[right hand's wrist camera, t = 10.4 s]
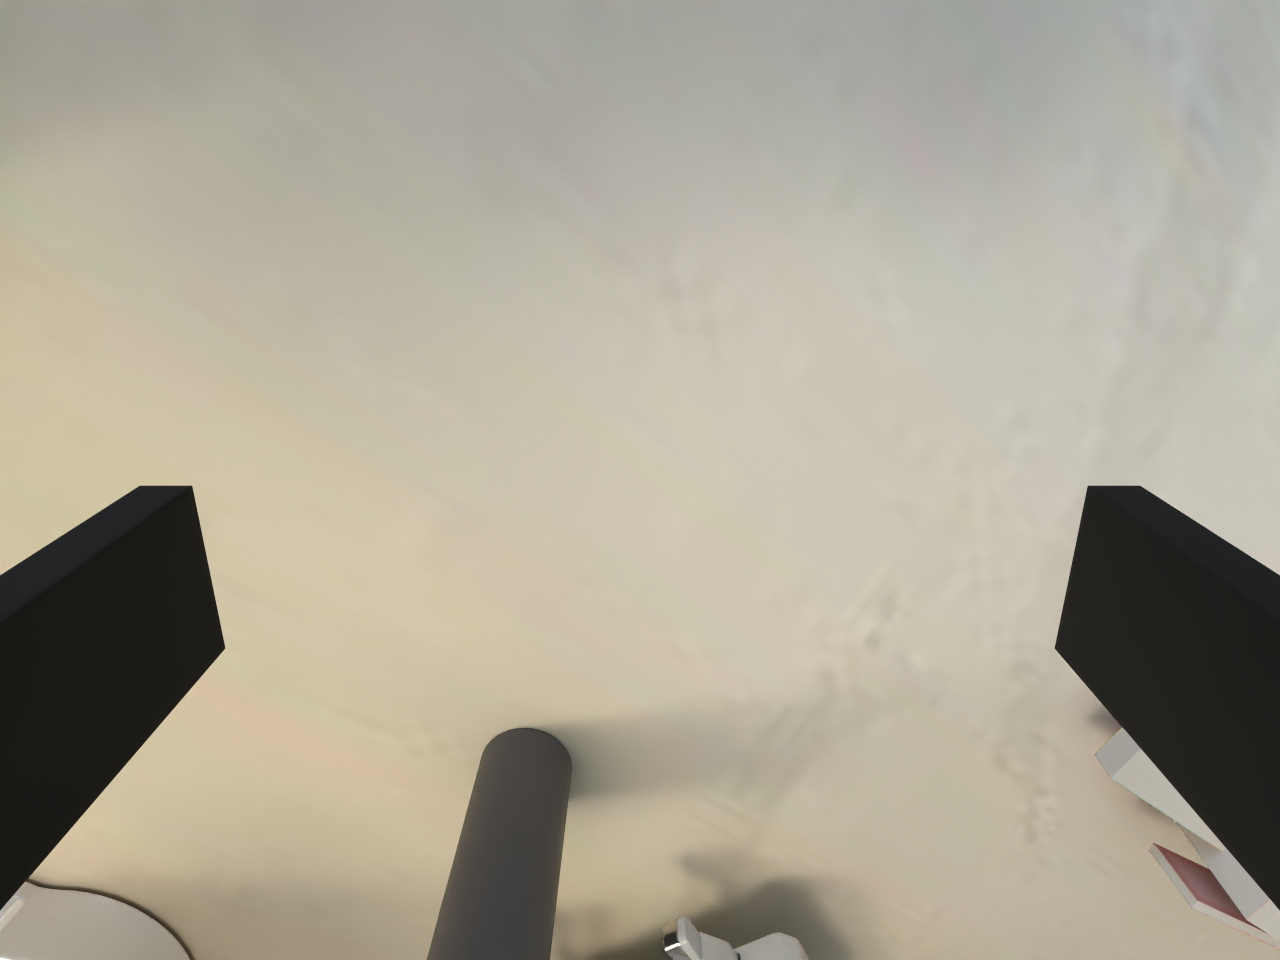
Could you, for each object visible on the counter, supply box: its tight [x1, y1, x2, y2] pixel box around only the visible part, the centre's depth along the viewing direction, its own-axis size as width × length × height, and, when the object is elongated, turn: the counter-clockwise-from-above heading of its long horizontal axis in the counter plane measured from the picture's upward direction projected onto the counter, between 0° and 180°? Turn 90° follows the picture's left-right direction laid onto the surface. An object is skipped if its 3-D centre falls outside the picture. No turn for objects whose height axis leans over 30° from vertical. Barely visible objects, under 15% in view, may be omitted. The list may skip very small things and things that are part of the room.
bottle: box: [427, 729, 572, 960], centre depth 40 cm, size 6×6×23 cm
